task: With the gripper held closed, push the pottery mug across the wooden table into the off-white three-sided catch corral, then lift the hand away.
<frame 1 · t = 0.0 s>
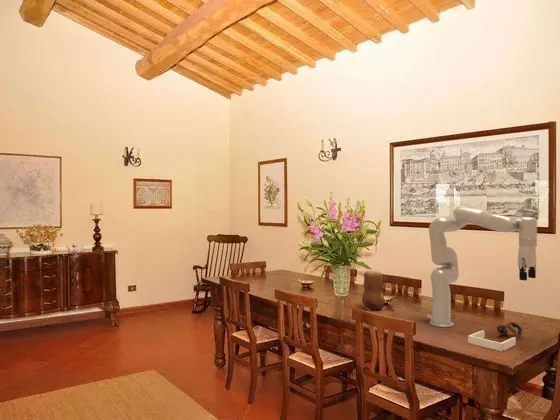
hand: (527, 278, 213), 31 cm above the table, tool pointing down, fingers open, 9 cm apart
butternut squash: (373, 309, 284), on the table
catch corral: (492, 343, 214), on the table
pottery mug: (508, 337, 225), on the table
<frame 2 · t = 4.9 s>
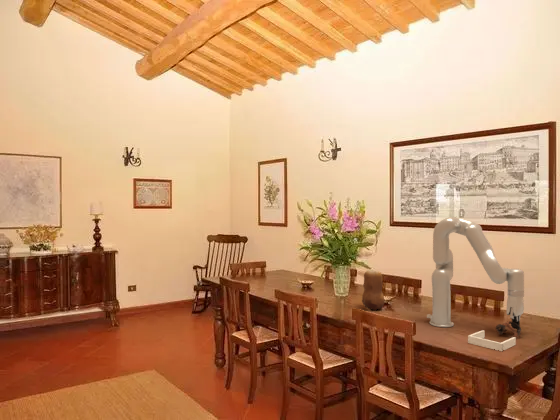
hand: (515, 328, 230), 3 cm above the table, tool pointing down, fingers closed
pottery mug: (507, 336, 226), on the table, touching gripper
everything else where it was.
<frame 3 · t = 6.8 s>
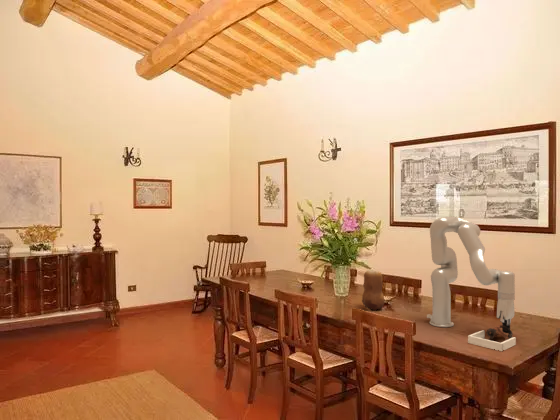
hand: (506, 332, 223), 3 cm above the table, tool pointing down, fingers closed
pottery mug: (498, 340, 219), on the table, touching gripper
everything else where it was.
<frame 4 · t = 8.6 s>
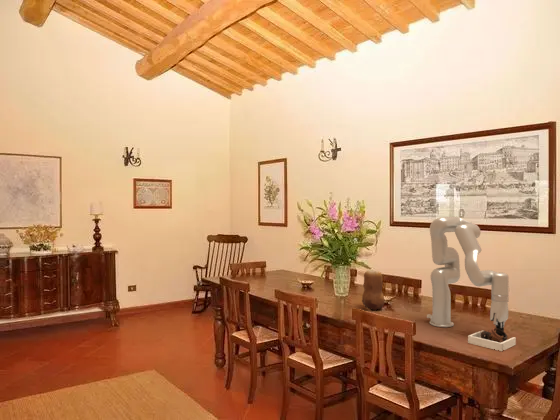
hand: (499, 335, 219), 3 cm above the table, tool pointing down, fingers closed
pottery mug: (492, 343, 215), on the table, touching gripper
everything else where it was.
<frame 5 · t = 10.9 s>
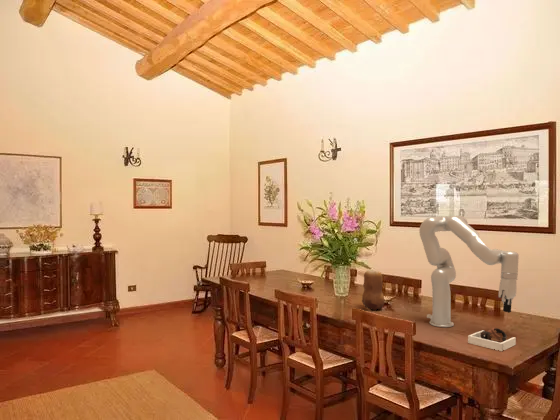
hand: (506, 311, 226), 12 cm above the table, tool pointing down, fingers closed
pottery mug: (492, 343, 215), on the table
everything else where it was.
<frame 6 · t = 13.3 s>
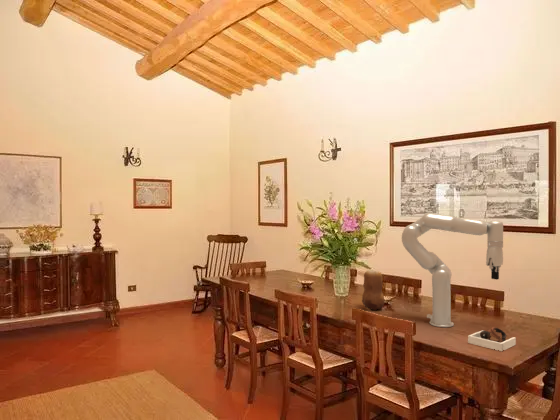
hand: (495, 279, 237), 27 cm above the table, tool pointing down, fingers closed
nothing on the table moved.
at the end: pottery mug inside the target area on the catch corral (4.2 cm from its centre), point 0.0 cm above the catch corral's base; pottery mug tilted 2°; pottery mug moved 15.5 cm from its start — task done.
